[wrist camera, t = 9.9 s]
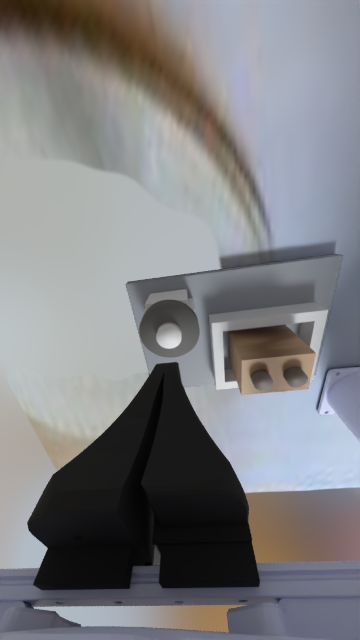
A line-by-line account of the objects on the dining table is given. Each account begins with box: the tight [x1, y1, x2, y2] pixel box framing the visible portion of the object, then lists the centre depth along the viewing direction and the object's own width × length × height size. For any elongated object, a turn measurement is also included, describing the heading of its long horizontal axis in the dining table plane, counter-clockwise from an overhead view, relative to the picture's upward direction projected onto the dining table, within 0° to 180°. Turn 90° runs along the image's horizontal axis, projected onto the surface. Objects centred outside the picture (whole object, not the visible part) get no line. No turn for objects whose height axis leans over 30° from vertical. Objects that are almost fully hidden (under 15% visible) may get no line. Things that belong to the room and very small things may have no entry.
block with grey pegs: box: [229, 325, 316, 395], centre depth 18 cm, size 6×4×6 cm, turn 98°
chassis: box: [126, 254, 343, 390], centre depth 20 cm, size 20×14×4 cm
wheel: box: [139, 289, 200, 358], centre depth 17 cm, size 5×5×5 cm
